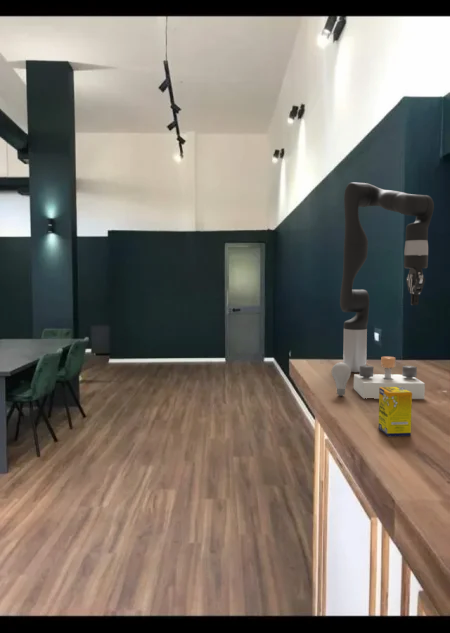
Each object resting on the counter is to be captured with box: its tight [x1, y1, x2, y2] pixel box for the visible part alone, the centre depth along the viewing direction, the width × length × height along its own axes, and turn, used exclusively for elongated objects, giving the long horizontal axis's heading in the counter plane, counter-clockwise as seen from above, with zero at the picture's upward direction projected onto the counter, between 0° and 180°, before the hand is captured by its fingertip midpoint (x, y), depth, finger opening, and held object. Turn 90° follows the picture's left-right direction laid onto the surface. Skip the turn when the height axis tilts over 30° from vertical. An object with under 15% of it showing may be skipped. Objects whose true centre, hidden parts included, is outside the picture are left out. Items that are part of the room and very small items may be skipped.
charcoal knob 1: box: [358, 364, 374, 379], centre depth 161 cm, size 4×4×8 cm
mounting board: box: [353, 373, 426, 400], centre depth 161 cm, size 14×19×5 cm
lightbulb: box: [331, 361, 352, 397], centre depth 158 cm, size 6×6×11 cm
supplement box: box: [378, 387, 413, 438], centre depth 121 cm, size 6×6×11 cm
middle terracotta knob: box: [380, 356, 396, 380], centre depth 161 cm, size 4×4×8 cm
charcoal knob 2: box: [401, 365, 418, 380], centre depth 161 cm, size 4×4×8 cm
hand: (414, 304), depth 168 cm, fingers closed
